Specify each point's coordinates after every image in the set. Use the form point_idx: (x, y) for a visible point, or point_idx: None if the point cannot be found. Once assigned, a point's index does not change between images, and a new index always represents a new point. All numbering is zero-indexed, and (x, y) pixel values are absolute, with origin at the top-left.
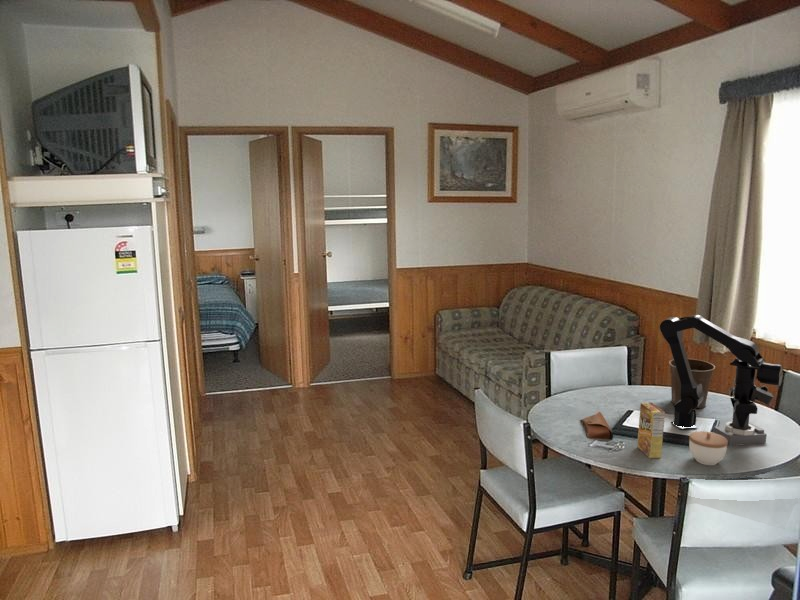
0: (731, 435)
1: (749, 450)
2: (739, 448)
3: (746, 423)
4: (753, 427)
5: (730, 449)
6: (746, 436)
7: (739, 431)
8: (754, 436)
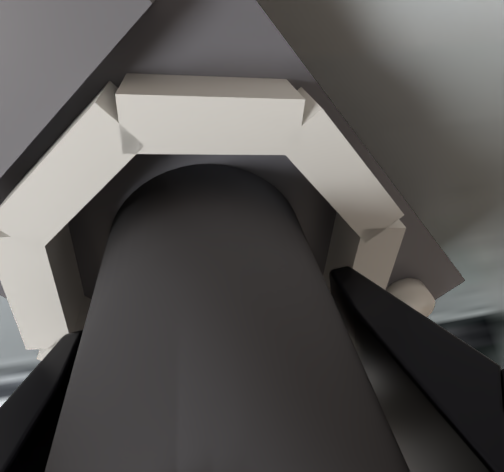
0: (423, 287)
1: (492, 62)
2: (460, 156)
3: (306, 275)
4: (138, 120)
5: (499, 213)
6: (369, 154)
7: (383, 260)
8: (294, 53)
